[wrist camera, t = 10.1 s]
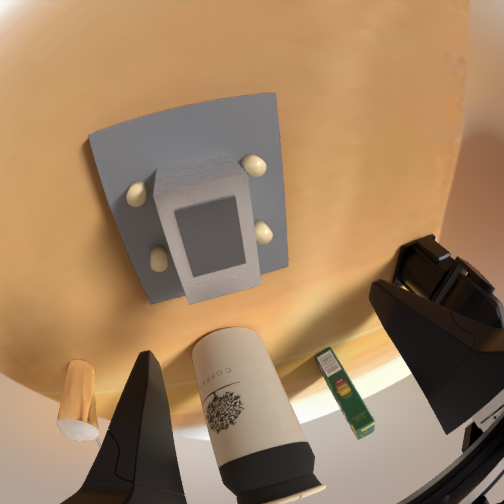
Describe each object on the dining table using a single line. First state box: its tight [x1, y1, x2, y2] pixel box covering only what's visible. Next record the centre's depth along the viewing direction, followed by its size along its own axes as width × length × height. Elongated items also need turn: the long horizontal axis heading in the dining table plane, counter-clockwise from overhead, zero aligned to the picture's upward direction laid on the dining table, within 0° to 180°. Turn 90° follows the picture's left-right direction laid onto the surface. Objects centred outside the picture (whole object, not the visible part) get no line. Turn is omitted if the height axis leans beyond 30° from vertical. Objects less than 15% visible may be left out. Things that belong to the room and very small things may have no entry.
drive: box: [153, 152, 262, 305], centre depth 16 cm, size 7×4×5 cm, turn 8°
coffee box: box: [314, 347, 374, 439], centre depth 32 cm, size 8×3×13 cm, turn 23°
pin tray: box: [88, 93, 288, 304], centre depth 18 cm, size 14×12×2 cm
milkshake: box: [57, 359, 101, 448], centre depth 20 cm, size 4×5×10 cm
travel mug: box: [192, 327, 326, 504], centre depth 21 cm, size 8×8×18 cm
